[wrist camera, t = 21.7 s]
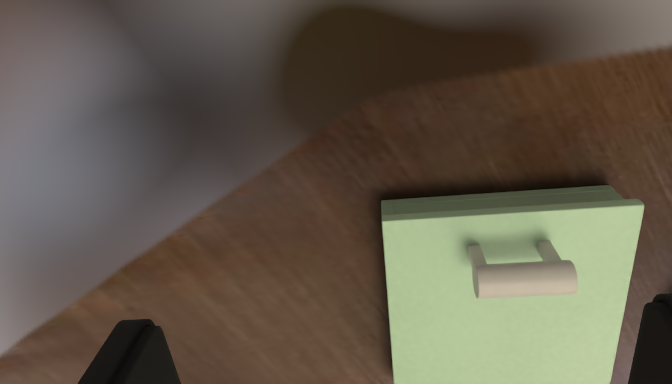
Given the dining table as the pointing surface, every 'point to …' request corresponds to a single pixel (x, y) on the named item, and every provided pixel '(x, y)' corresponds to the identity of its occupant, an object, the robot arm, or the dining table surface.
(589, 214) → the lid
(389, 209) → the green tray box
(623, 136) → the dining table surface
